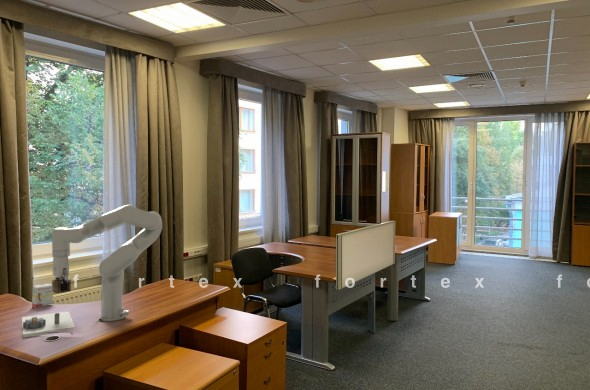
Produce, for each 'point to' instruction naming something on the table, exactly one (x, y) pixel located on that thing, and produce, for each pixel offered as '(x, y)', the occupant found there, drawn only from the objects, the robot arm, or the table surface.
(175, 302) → the table surface
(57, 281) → the walnut gear
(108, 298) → the robot arm
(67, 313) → the gear board
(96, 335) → the table surface
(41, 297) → the ink box
